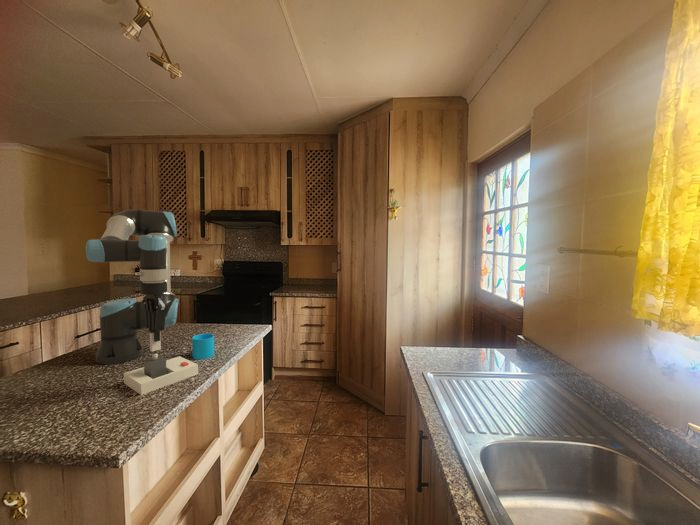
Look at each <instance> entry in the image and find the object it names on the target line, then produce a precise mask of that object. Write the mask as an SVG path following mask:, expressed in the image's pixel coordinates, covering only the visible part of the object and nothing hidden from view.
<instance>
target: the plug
mask: <svg viewBox="0 0 700 525" xmlns="http://www.w3.org/2000/svg"><path fill="white" fill-rule="evenodd" d="M166 360H167V359H166V358H164V357H162V356H160V355H159V354H158V353H157V352H155V353H152V354H151V358H149V359H144V360H143V367H144V374H145V375H147V376H149V377H150V378H152V379H154V378H157V377H160V376H163V375H166Z"/></svg>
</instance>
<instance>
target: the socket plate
mask: <svg viewBox="0 0 700 525" xmlns="http://www.w3.org/2000/svg"><path fill="white" fill-rule="evenodd" d="M197 375H199V364H198V363H195V362H193V361H191V360H189V359H187V358H184V357H182V356H180V355H179V356H176V357H173V358H169V359H166V375H163V376H160V377H157V378H154V379H152V378H150V377H149V376H147V375H145V374H144V366H143V367H140V368H139V367H138V368H137V369H133V370H130V371H127V372H124V373H123V384H124V385H126V386H127V387H129V388H130V389H132V390H133V391H135V393H137V394H139V395H140V396H144V395H146V394H148V393H152V392H154V391H156V389H157V390H159V388H160V389H162V388H164V386H165V387H168V386H170V385H172V384H175V383H179V382H181V381H184V380H186V379H190V378H192V377H194V376H197ZM167 385H168V386H167ZM151 391H152V392H151ZM143 394H144V395H143Z"/></svg>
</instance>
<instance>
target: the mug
mask: <svg viewBox="0 0 700 525" xmlns="http://www.w3.org/2000/svg"><path fill="white" fill-rule="evenodd" d="M191 340H192V342H191V343H192V359H194V360H206V359H207V360H208V359H210V358H212V357H214V356H215V335H214V333H200V334H196V335H193V336H192V338H191Z"/></svg>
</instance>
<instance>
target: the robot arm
mask: <svg viewBox="0 0 700 525" xmlns="http://www.w3.org/2000/svg"><path fill="white" fill-rule="evenodd" d="M177 232H178V230H177V224H176V219H175V215H174V214H173V212H171V211H163V210H161V211H160V210H145V209H126V210H122V211H120V212H117V213H115V214H113V215H111V217H109V219H108V220H107V222H106V229H105V231H104V233H103V234H102V236H101V237H100V239H98V238H96V239H88V240H87V241H86V243H85V255H86V260H88V261H89V262H91V263H101V264H102V263H121V262H122V263H126V262H127V263H128V262H129V263H130V262H132V263H133V262H135V263H136V262H139V272H138V276H139V281H140V283H139V291H140V294H141V295H143V297H142V299H141V300H140V301H137V299H136V298H135V297H129V298H121V299H115V300H112V301H107V302H105V303H103V304H102V305H101V306H100V309H99V316H98V318H99V325H100V343H99V345H98V348H97V351H96V354H95V362H96V363H97V364H100V365H111V364H113V365H114V364H120V363H125V362H128V361H132V360H135V359H137V358H139V357H141V356H142V355H143V354H144V347H143V345H142V342H141V341H140V338H139V336H138V330H148V331H149V351H150V352H155V351H160V350H161V349H162V346H161V345H162V344H161V342H162V341H161V340H162V339H161V337H162V335H161V333H162V331H164V330H165V327H172V326H174V325H175V324H176V323H177V319H178V318H177V317H178V308H179V307H178V306H179V303H180V302H179V300H180V299H179V298H176V294H175V293H173V292H172V288H171V287H172V286H171V280H172V279H171V244H170V243H171V242H173V241H174V238H175V237H177V235H178V233H177ZM130 236H139V237H138V240H133V239H129V238H130Z"/></svg>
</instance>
